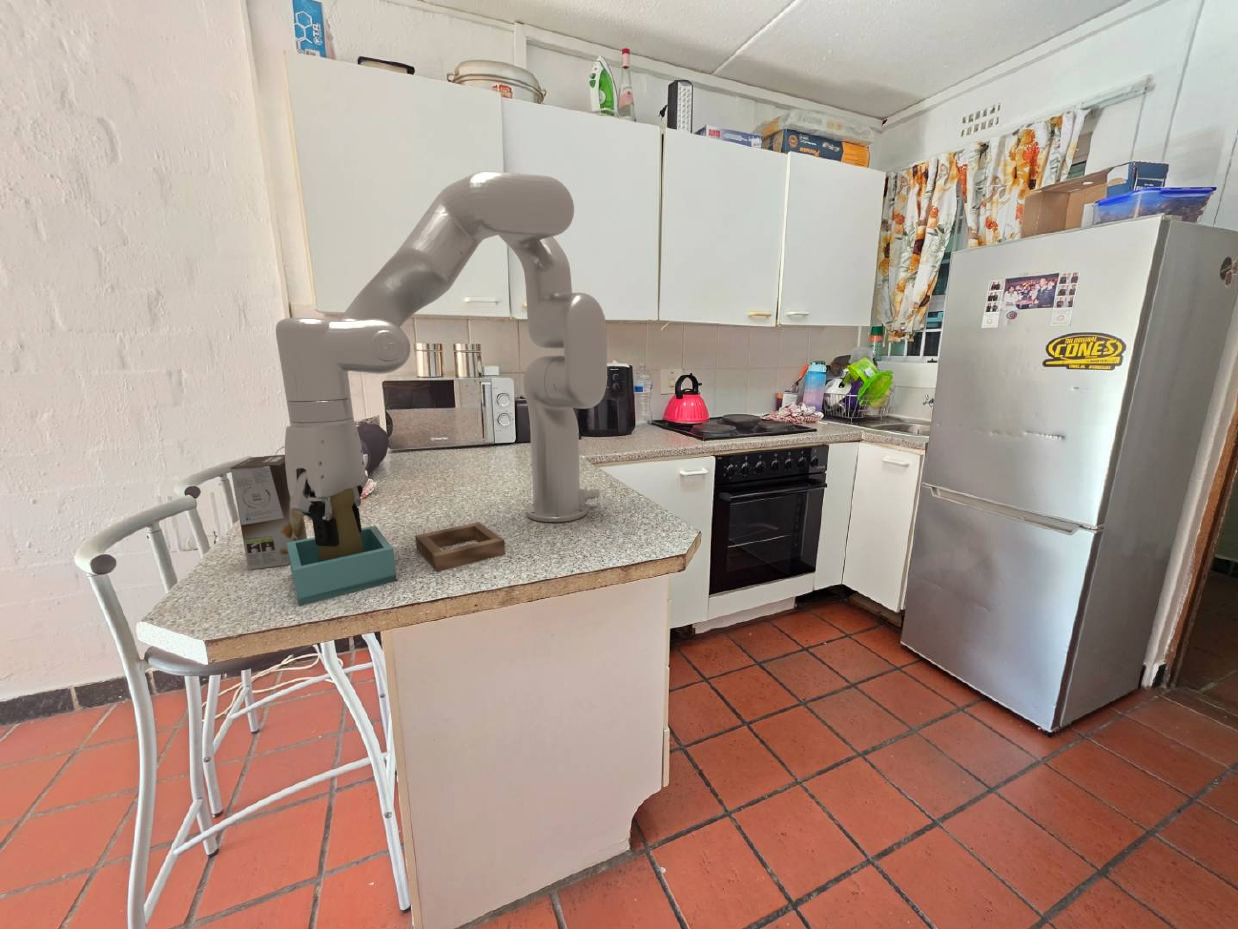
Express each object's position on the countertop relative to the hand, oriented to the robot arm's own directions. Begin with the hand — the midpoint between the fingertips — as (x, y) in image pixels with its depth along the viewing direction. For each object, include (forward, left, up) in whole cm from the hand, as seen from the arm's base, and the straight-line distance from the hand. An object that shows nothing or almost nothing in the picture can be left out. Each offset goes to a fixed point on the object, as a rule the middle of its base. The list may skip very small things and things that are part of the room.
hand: (339, 537), depth 70 cm
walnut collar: (-17, +1, -6) cm, 18 cm away
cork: (0, 0, -3) cm, 3 cm away
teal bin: (0, 0, -6) cm, 6 cm away
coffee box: (+7, -15, -6) cm, 18 cm away
